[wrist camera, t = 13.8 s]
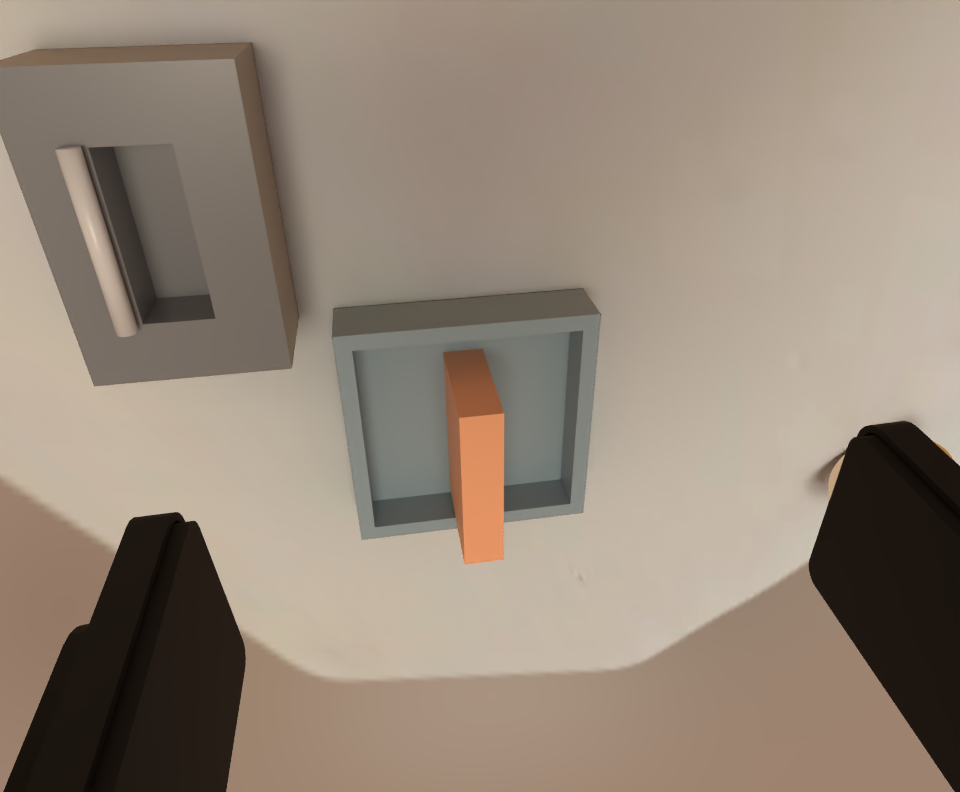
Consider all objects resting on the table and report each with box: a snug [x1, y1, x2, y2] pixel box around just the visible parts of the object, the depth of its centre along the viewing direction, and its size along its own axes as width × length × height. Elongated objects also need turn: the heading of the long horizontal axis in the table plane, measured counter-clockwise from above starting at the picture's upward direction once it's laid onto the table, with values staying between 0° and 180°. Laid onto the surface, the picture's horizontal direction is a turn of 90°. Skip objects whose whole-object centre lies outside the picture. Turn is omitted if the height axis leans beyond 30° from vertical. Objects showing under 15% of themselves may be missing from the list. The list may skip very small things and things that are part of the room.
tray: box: [332, 289, 601, 540], centre depth 37 cm, size 13×13×3 cm
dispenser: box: [0, 43, 299, 386], centre depth 28 cm, size 8×12×6 cm, turn 0°
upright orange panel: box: [443, 349, 504, 564], centre depth 35 cm, size 2×6×9 cm
